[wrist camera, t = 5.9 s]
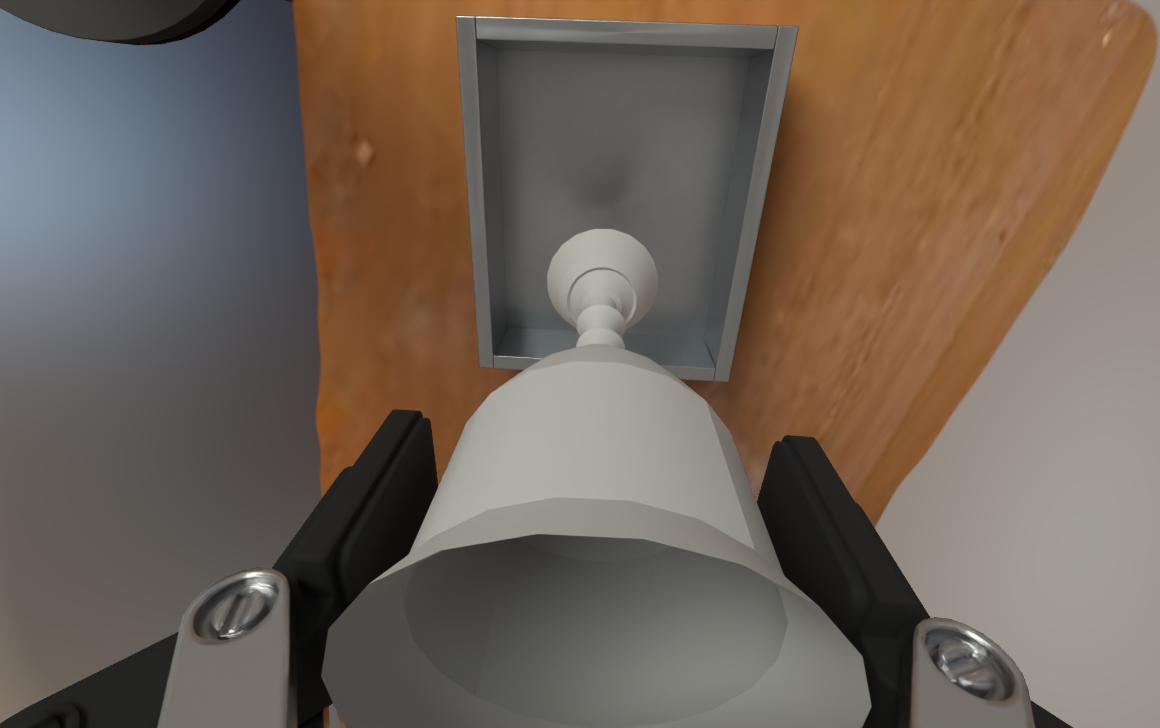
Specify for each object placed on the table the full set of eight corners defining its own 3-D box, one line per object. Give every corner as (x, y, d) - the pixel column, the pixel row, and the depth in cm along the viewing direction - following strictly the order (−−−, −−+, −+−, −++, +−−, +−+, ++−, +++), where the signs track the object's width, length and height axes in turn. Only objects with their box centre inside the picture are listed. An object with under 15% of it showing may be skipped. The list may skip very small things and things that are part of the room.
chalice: (700, 223, 21) (982, 589, 5) (663, 361, 24) (768, 849, 8) (531, 193, 21) (290, 485, 5) (516, 337, 24) (339, 792, 8)
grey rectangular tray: (495, 336, 39) (479, 367, 34) (480, 29, 29) (455, 15, 25) (714, 348, 38) (728, 382, 33) (769, 39, 29) (799, 26, 24)
